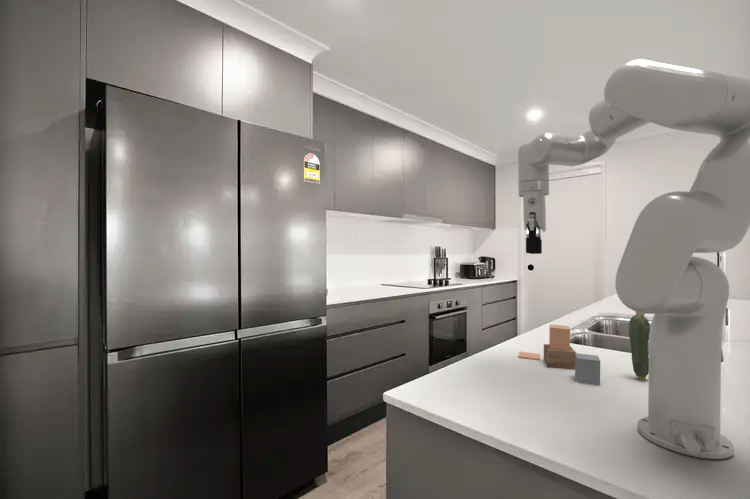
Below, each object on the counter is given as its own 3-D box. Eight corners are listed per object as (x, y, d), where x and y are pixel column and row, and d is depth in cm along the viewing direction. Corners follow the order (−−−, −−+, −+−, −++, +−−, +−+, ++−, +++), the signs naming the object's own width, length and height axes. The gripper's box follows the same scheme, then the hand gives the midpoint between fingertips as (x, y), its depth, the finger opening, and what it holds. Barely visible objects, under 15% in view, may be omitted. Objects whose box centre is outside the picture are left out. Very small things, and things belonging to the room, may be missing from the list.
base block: (576, 370, 100) (576, 352, 100) (548, 368, 102) (548, 350, 102) (569, 362, 107) (569, 345, 107) (543, 360, 109) (543, 343, 109)
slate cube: (600, 385, 89) (600, 360, 89) (576, 382, 91) (576, 358, 91) (597, 379, 93) (597, 355, 93) (575, 376, 95) (575, 353, 95)
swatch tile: (539, 360, 108) (539, 359, 108) (518, 357, 111) (518, 356, 111) (540, 355, 114) (540, 353, 114) (519, 352, 116) (519, 351, 116)
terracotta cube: (569, 351, 101) (569, 329, 101) (549, 348, 103) (549, 327, 103) (568, 346, 106) (568, 325, 106) (549, 344, 108) (549, 324, 108)
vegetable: (649, 383, 90) (649, 302, 90) (627, 379, 93) (628, 300, 93) (649, 378, 94) (650, 300, 94) (628, 374, 96) (629, 298, 96)
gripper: (547, 182, 89) (548, 253, 89) (550, 193, 105) (550, 253, 104) (514, 185, 93) (515, 253, 92) (521, 195, 108) (522, 254, 108)
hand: (534, 253), depth 98 cm, fingers open, 9 cm apart
